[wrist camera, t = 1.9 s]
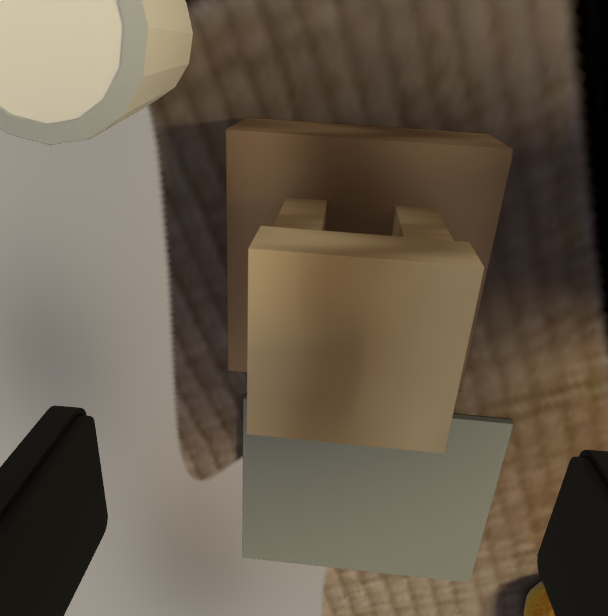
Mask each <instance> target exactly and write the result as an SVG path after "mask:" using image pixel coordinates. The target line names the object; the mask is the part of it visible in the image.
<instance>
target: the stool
mask: <svg viewBox="0 0 608 616" xmlns="http://www.w3.org/2000/svg"><path fill="white" fill-rule="evenodd" d="M326 210H327V201H326V200H313V199H300V198H286V200H285V202H284V204H283V206H282V208H281V210H280V213H279V215H278V217H277V219H276V221H275V223H274V225H273V227H269V226H260V228H259V230H258V232H257V233H256V235H255V237H254V239H253V241H252V243H251V244H250V246H249V248H248V350H247V434H251V435H261V436H271V437H281V438H291V439H301V440H311V441H321V442H332V443H342V444H352V445H362V446H372V447H382V448H392V449H402V450H412V451H423V452H433V453H443V454H445V449H446V444H447V440H448V435H449V430H450V426H451V421H452V416H453V412H454V407H455V402H456V398H457V393H458V388H459V384H460V379H461V374H462V370H463V365H464V360H465V356H466V351H467V346H468V342H469V337H470V332H471V328H472V323H473V318H474V314H475V309H476V304H477V299H478V295H479V290H480V285H481V281H482V276H483V271H484V266H483V264H482V262H481V261H480V259H479V257H478V256H477V254H476V252H475V251H474V249H473V248H472V246H471V244H470V243H469V242H463V241H454V240H453V238H452V236H451V234H450V232H449V230H448V228H447V227H446V225H445V223H444V221H443V219H442V217H441V215H440V213H439V211H438V210H437V209H434V208H421V207H407V206H395V214H394V221H393V229H392V236H386V235H373V234H360V233H347V232H334V231H325V224H326Z"/></svg>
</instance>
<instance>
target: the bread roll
mask: <svg viewBox="0 0 608 616" xmlns="http://www.w3.org/2000/svg"><path fill="white" fill-rule="evenodd" d="M524 616H555V614H554V611H553V608H552V606H551V603H550V600H549V598H548V595H547V593H546V590H545V587H544V585H543V582H542V581H541V582H539V583H538V584H536V585H535V586H534V587H533V588H532V589H531V590H530V591H529V593H528V595H527V597H526V601H525V607H524Z"/></svg>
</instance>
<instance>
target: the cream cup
mask: <svg viewBox="0 0 608 616" xmlns="http://www.w3.org/2000/svg"><path fill="white" fill-rule="evenodd" d="M192 37H193V32H192V27H191V22H190V18H189V13H188V8H187V3H186V1H185V0H0V129H2V130H3V131H5V132H6V133H8V134H10V135H14V136H17V137H21V138H26V139H29V140H33V141H37V142H40V143H44V144H48V145H54V144H61V143H67V142H73V141H80V140H86V139H91V138H92V137H94V136H96V135H98V134H99V133H101V132H103V131H104V130H106V129H108V128H110V127H111V126H113V125H115V124H117V123H118V122H120V121H122V120H123V119H125V118H127V117H129V116H130V115H132V114H134V113H135V112H137V111H139V110H141V109H143V108H144V107H146V106H148V105H149V104H151V103H153V102H155V101H156V100H158V99H159V98H160V97H162V96H163V95H165V94H166V93H167V92H169V91H170V90H172V89H173V88H174V87H176V85H177V83H178V82H179V80H180V78H181V76H182V75H183V73H184V71H185V69H186V68H187V66H188V64H189V60H190V52H191V45H192Z"/></svg>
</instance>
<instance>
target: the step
mask: <svg viewBox="0 0 608 616" xmlns="http://www.w3.org/2000/svg"><path fill="white" fill-rule="evenodd" d="M513 151H514V149H513V148H511V147H509V146H508V145H506V144H504V143H503V142H501V141H499V140H498V139H496V138H494V137H493V136H491V135H489V134H486V133H471V132H456V131H441V130H426V129H411V128H396V127H381V126H366V125H351V124H336V123H321V122H306V121H291V120H276V119H261V118H245V119H243V120H241V121H240V122H238V123H236V124H235V125H233V126H231V127H230V128H228V129H226V203H227V307H228V370H229V371H240V372H247V350H248V248H249V246H250V244H251V243H252V241H253V239H254V237H255V235H256V233H257V232H258V230H259V228H260V226H269V227H273V225H274V223H275V221H276V219H277V217H278V215H279V213H280V210H281V208H282V206H283V204H284V202H285V200H286V198H300V199H313V200H326V201H327V210H326V224H325V231H334V232H347V233H360V234H373V235H386V236H392V229H393V221H394V214H395V206H407V207H421V208H434V209H437V210H438V211H439V213H440V215H441V217H442V219H443V221H444V223H445V225H446V227H447V228H448V230H449V232H450V234H451V236H452V238H453V240H454V241H463V242H469V243H470V244H471V246H472V248H473V249H474V251H475V252H476V254H477V256H478V257H479V259H480V261H481V262H482V264H483V266H484V271H483V276H482V281H481V285H480V290H479V295H478V299H477V304H476V309H475V314H474V318H473V323H472V328H471V332H470V337H469V342H468V346H467V351H466V356H465V360H464V365H463V370H462V374H461V379H460V384H459V388H458V392H461V390H462V386H463V381H464V376H465V372H466V367H467V363H468V358H469V353H470V349H471V344H472V340H473V335H474V330H475V326H476V321H477V317H478V312H479V307H480V303H481V298H482V294H483V289H484V284H485V280H486V275H487V271H488V266H489V261H490V257H491V252H492V247H493V243H494V238H495V234H496V229H497V224H498V220H499V215H500V211H501V206H502V201H503V197H504V192H505V188H506V183H507V178H508V174H509V169H510V165H511V160H512V155H513Z"/></svg>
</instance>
